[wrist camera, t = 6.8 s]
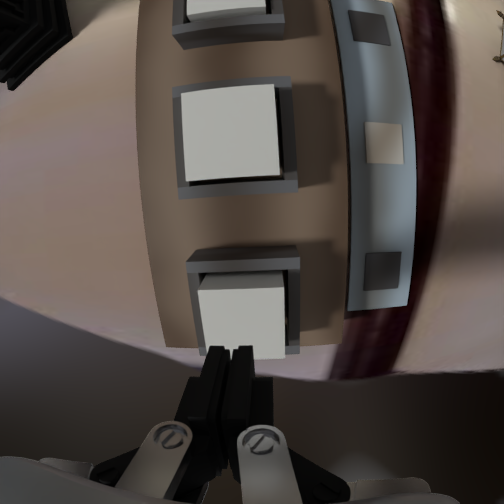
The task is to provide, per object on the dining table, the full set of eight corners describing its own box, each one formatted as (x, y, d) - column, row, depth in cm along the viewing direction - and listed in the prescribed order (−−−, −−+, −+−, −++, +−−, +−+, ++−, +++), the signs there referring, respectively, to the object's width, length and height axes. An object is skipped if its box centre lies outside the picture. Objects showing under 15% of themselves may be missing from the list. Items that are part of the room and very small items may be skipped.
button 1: (281, 269, 16) (283, 287, 13) (283, 334, 17) (285, 358, 15) (207, 272, 16) (197, 290, 14) (215, 336, 17) (208, 359, 15)
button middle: (272, 96, 13) (273, 84, 11) (277, 174, 14) (279, 174, 12) (194, 103, 14) (181, 93, 11) (198, 179, 15) (186, 181, 12)
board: (387, -5, 14) (413, -38, 9) (403, 314, 21) (432, 350, 16) (155, 1, 15) (129, -33, 10) (177, 326, 22) (155, 367, 17)
